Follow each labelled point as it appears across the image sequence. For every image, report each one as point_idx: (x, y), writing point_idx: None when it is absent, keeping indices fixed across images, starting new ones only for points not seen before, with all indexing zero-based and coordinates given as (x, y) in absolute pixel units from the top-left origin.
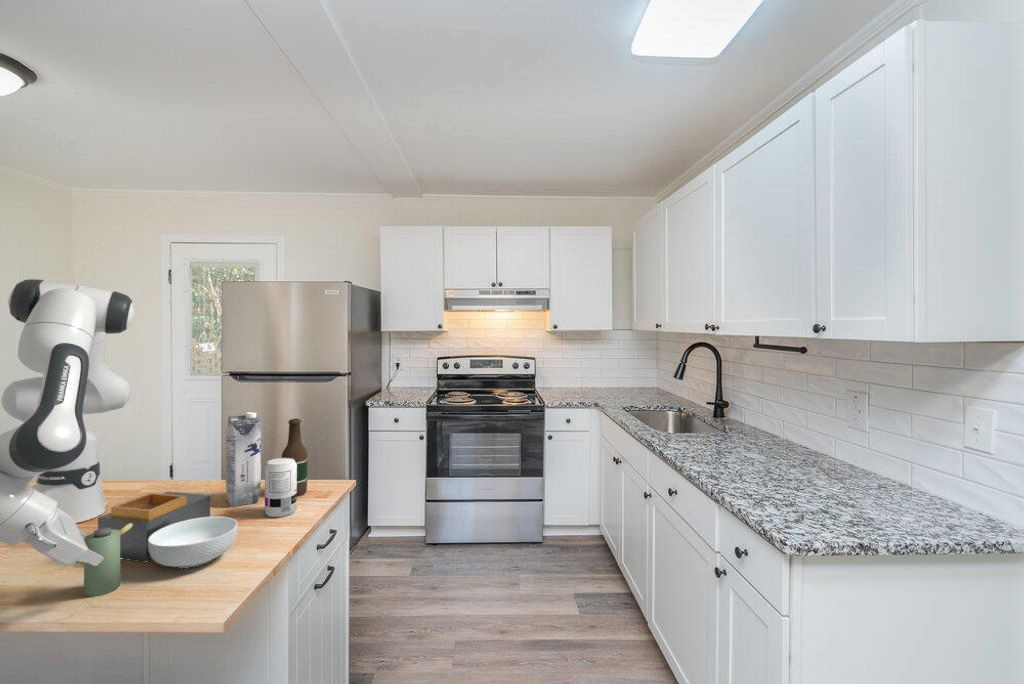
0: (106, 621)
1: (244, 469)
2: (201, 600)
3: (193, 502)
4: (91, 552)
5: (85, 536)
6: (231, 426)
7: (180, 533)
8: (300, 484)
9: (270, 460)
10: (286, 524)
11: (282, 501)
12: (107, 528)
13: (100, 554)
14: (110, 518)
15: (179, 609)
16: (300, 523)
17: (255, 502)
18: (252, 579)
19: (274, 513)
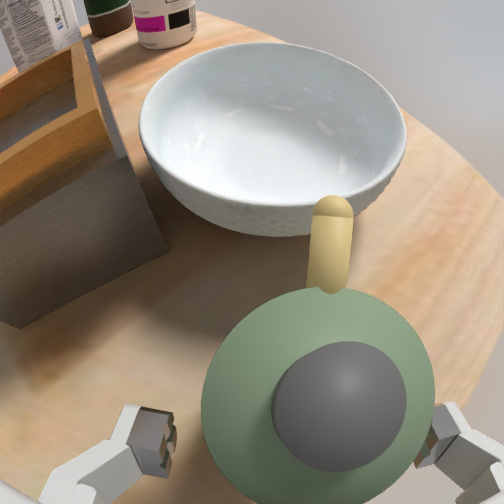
0: (468, 394)
1: (57, 7)
2: (481, 230)
3: (93, 55)
4: (498, 445)
5: (117, 456)
6: None
7: (160, 133)
8: (129, 7)
9: None
10: (231, 43)
11: (190, 12)
12: (331, 366)
13: (435, 414)
14: None
15: (494, 268)
16: (247, 35)
17: None
18: (443, 148)
19: (181, 37)
